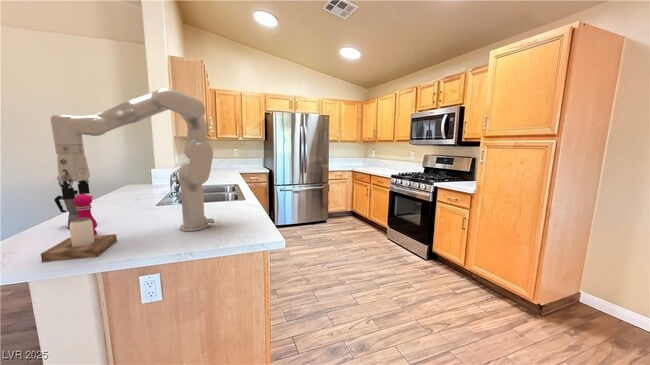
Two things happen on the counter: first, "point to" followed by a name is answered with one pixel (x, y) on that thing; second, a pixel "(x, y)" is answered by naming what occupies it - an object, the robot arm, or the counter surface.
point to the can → (81, 232)
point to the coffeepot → (69, 207)
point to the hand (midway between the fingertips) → (77, 196)
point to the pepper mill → (85, 208)
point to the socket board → (78, 249)
